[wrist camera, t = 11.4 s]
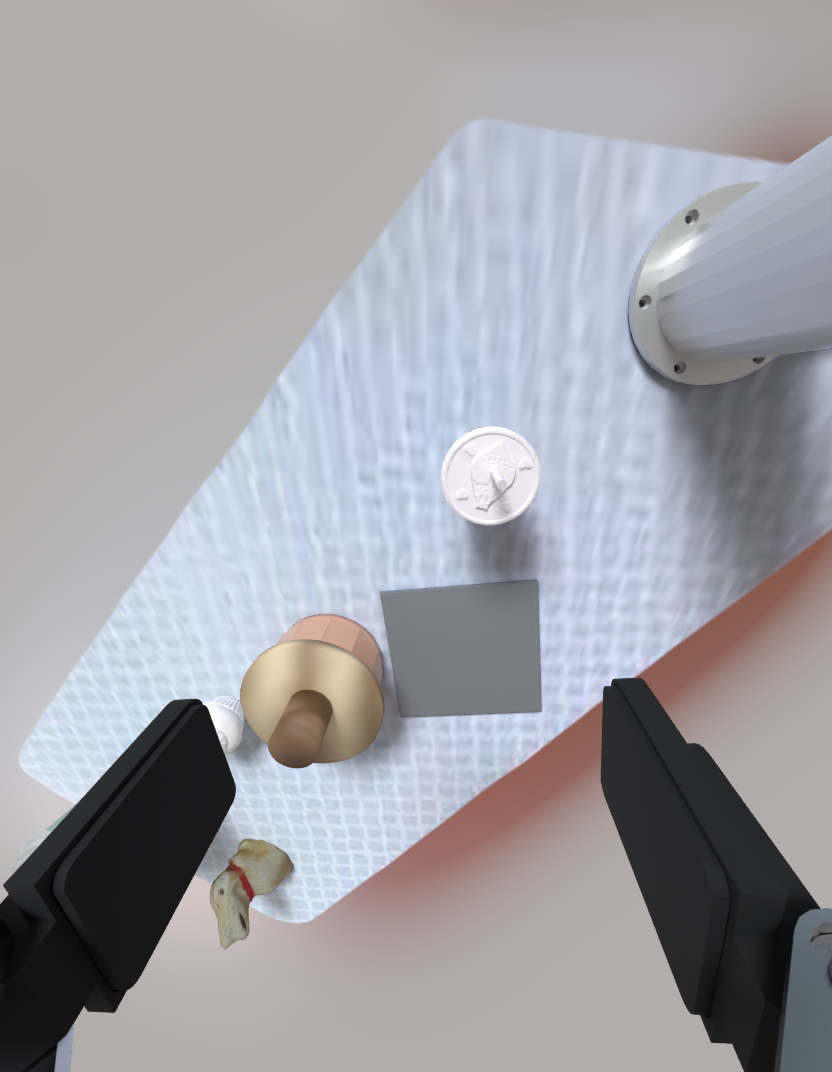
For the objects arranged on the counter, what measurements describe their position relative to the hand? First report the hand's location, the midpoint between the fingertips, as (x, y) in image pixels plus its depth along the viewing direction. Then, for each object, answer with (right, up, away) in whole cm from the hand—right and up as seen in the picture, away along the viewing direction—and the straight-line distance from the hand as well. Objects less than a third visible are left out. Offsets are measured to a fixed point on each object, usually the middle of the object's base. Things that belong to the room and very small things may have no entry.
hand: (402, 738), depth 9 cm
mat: (+5, -7, +32) cm, 33 cm away
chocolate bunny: (-20, -37, +45) cm, 62 cm away
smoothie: (+6, +12, +26) cm, 29 cm away
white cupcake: (-21, -15, +37) cm, 45 cm away
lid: (-9, -10, +28) cm, 31 cm away
